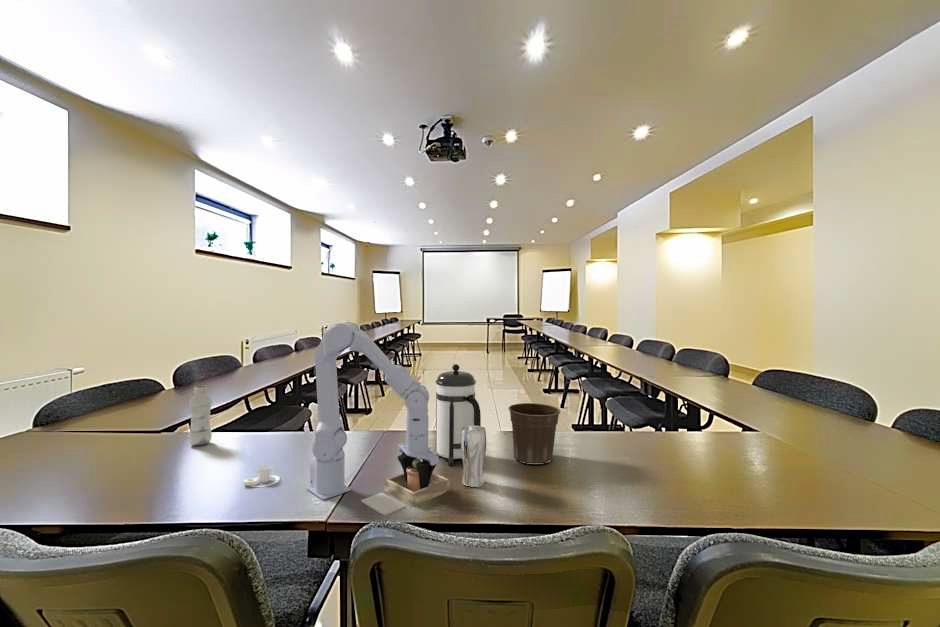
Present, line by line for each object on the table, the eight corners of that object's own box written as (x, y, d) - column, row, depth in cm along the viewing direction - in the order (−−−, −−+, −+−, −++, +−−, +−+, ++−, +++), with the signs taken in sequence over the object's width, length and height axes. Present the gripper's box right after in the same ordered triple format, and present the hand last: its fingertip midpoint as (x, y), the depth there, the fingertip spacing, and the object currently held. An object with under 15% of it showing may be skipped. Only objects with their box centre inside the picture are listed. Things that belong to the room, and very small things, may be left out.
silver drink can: (471, 475, 119) (471, 423, 119) (490, 482, 115) (491, 428, 115) (455, 483, 114) (455, 429, 114) (475, 491, 110) (475, 434, 109)
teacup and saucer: (241, 490, 110) (241, 475, 110) (248, 478, 117) (248, 464, 117) (277, 487, 112) (277, 472, 112) (282, 475, 120) (282, 461, 119)
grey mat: (361, 501, 103) (361, 500, 103) (381, 493, 107) (381, 492, 107) (384, 516, 96) (384, 514, 96) (405, 507, 100) (405, 505, 100)
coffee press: (424, 465, 127) (424, 366, 127) (440, 447, 143) (440, 360, 142) (479, 471, 123) (480, 369, 123) (489, 452, 139) (490, 362, 138)
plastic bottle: (190, 442, 146) (190, 385, 145) (213, 440, 148) (213, 384, 148) (186, 448, 140) (186, 389, 139) (210, 446, 143) (210, 387, 142)
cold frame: (384, 490, 109) (384, 479, 109) (420, 477, 118) (420, 467, 118) (413, 506, 101) (413, 494, 101) (449, 490, 109) (449, 479, 109)
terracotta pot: (401, 491, 109) (401, 458, 109) (418, 484, 113) (418, 453, 113) (415, 498, 105) (415, 464, 105) (432, 491, 109) (432, 458, 109)
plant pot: (556, 451, 141) (557, 403, 140) (562, 469, 124) (563, 416, 124) (508, 449, 142) (508, 402, 142) (507, 467, 126) (508, 414, 126)
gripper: (447, 436, 107) (447, 488, 107) (412, 424, 117) (411, 472, 117) (426, 442, 102) (425, 497, 102) (391, 429, 112) (391, 480, 112)
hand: (417, 484), depth 109 cm, fingers closed on terracotta pot, 5 cm apart
